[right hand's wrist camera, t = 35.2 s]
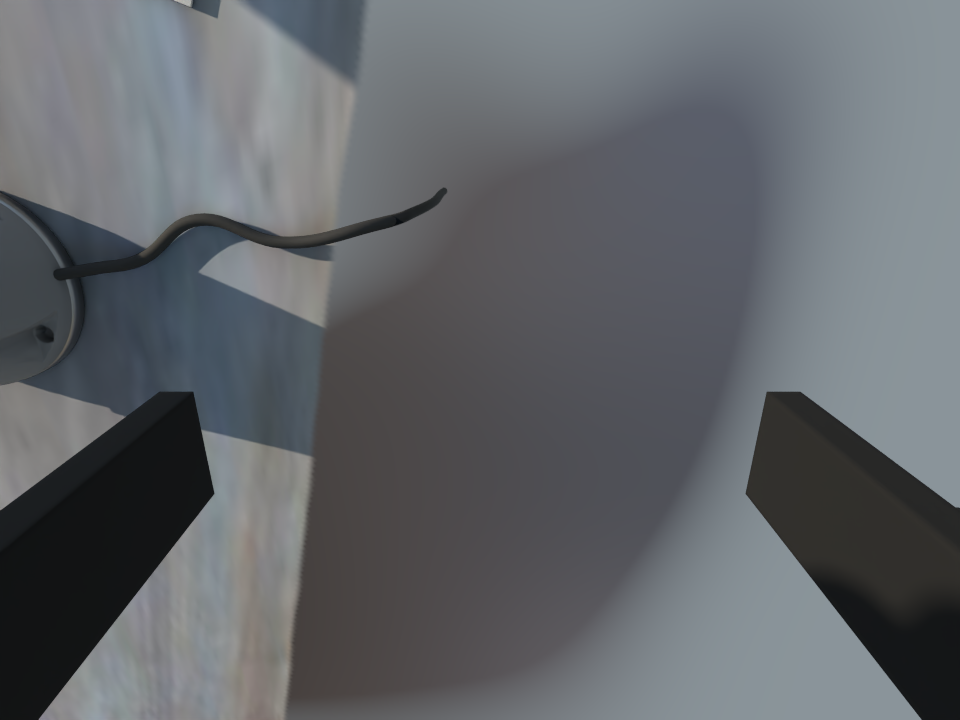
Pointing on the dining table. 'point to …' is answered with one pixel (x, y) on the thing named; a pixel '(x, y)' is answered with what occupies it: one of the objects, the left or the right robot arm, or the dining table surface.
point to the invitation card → (185, 2)
